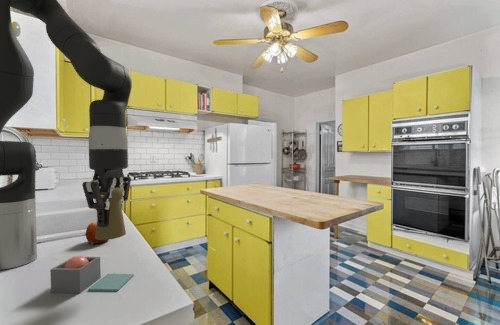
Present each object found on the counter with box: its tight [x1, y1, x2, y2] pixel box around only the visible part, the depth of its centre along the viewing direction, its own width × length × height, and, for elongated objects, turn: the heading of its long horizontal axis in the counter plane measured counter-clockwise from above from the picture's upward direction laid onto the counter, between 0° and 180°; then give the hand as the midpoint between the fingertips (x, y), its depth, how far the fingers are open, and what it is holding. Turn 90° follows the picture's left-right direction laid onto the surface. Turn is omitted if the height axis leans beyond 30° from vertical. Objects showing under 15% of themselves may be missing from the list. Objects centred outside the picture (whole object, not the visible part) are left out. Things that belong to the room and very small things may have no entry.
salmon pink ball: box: [64, 255, 89, 268], centre depth 53 cm, size 5×5×5 cm
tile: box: [87, 273, 135, 292], centre depth 54 cm, size 6×6×1 cm
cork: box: [95, 187, 127, 241], centre depth 53 cm, size 6×6×11 cm
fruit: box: [85, 221, 109, 247], centre depth 79 cm, size 8×8×8 cm
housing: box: [50, 256, 102, 294], centre depth 53 cm, size 6×6×5 cm
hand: (110, 223), depth 53 cm, fingers closed on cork, 4 cm apart
